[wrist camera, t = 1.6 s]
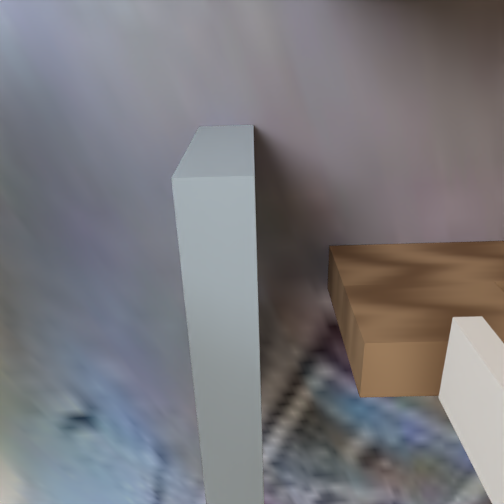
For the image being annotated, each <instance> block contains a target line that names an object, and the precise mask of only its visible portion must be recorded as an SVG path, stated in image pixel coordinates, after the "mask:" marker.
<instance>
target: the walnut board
mask: <svg viewBox="0 0 504 504" xmlns="http://www.w3.org/2000/svg"><path fill="white" fill-rule="evenodd" d="M328 291H329V294H330V298H331V301H332V305H333V308H334V311H335V315H336V318H337V322H338V325H339V328H340V332H341V335H342V338H343V342H344V345H345V349H346V352H347V355H348V359H349V362H350V366H351V369H352V372H353V376H354V379H355V382H356V386H357V389H358V393H359V396H360V397H397V396H439V392H440V386H441V380H442V375H443V369H444V364H445V358H446V352H447V347H448V341H449V335H450V330H451V324H452V319H453V317H476V316H482V317H483V318H484V319H485V321H486V322H487V323H488V324H489V326H490V327H491V328H492V329H493V331H494V332H495V333H496V334H497V336H498V337H499V338H500V339H501V341H502V342H503V343H504V241H486V242H450V243H414V244H379V245H343V246H329V267H328Z"/></svg>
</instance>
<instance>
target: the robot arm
mask: <svg viewBox="0 0 504 504" xmlns="http://www.w3.org/2000/svg"><path fill="white" fill-rule="evenodd" d="M438 398H439V400H440V402H441V404H442V406H443V408H444V410H445V412H446V414H447V416H448V418H449V420H450V422H451V424H452V425H453V427H454V429H455V431H456V433H457V435H458V437H459V439H460V441H461V443H462V445H463V447H464V449H465V451H466V453H467V455H468V457H469V459H470V461H471V463H472V465H473V467H474V469H475V471H476V473H477V475H478V477H479V479H480V481H481V483H482V485H483V487H484V489H485V491H486V493H487V494H488V496H489V498H490V500H491V502H492V504H504V343H503V342H502V341H501V339H500V338H499V337H498V336H497V334H496V333H495V332H494V331H493V329H492V328H491V327H490V326H489V324H488V323H487V322H486V321H485V319H484V318H483V317H482V316H476V317H453V319H452V324H451V330H450V335H449V341H448V347H447V352H446V358H445V364H444V369H443V375H442V380H441V386H440V392H439V397H438Z"/></svg>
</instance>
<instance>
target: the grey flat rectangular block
mask: <svg viewBox="0 0 504 504" xmlns="http://www.w3.org/2000/svg"><path fill="white" fill-rule="evenodd" d="M171 179H172V189H173V198H174V207H175V217H176V226H177V235H178V245H179V254H180V263H181V273H182V282H183V291H184V301H185V310H186V319H187V329H188V338H189V347H190V357H191V366H192V375H193V385H194V394H195V403H196V413H197V422H198V431H199V441H200V450H201V459H202V469H203V478H204V487H205V497H206V504H264V488H263V449H262V411H261V373H260V338H259V303H258V273H257V233H256V198H255V162H254V127H253V125H233V126H200V127H199V128H198V130H197V132H196V134H195V135H194V137H193V139H192V141H191V143H190V145H189V146H188V148H187V150H186V152H185V154H184V156H183V158H182V159H181V161H180V163H179V165H178V167H177V169H176V171H175V172H174V174H173V176H172V178H171Z"/></svg>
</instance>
